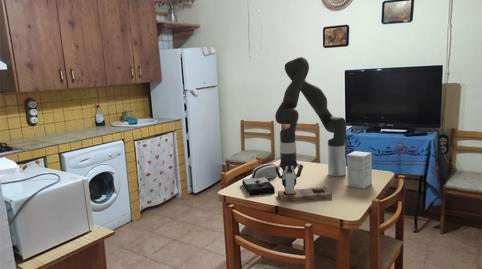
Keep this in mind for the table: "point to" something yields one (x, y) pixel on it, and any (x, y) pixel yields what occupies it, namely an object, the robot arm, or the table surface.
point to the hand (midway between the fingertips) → (289, 185)
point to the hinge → (264, 171)
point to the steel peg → (289, 183)
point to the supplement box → (359, 169)
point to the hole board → (305, 195)
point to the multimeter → (258, 186)
